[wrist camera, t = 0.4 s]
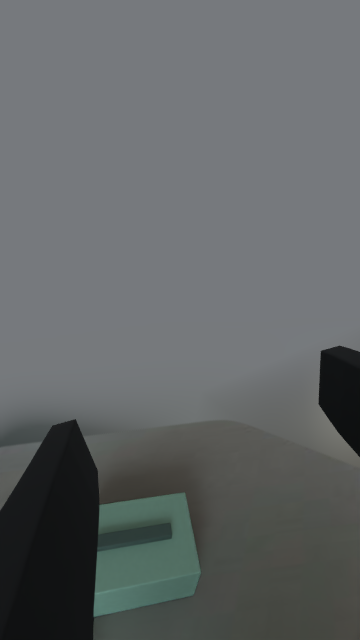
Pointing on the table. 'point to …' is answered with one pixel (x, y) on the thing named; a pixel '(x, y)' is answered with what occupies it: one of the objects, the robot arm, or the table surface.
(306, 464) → the table surface
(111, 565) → the green pad
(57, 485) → the robot arm
